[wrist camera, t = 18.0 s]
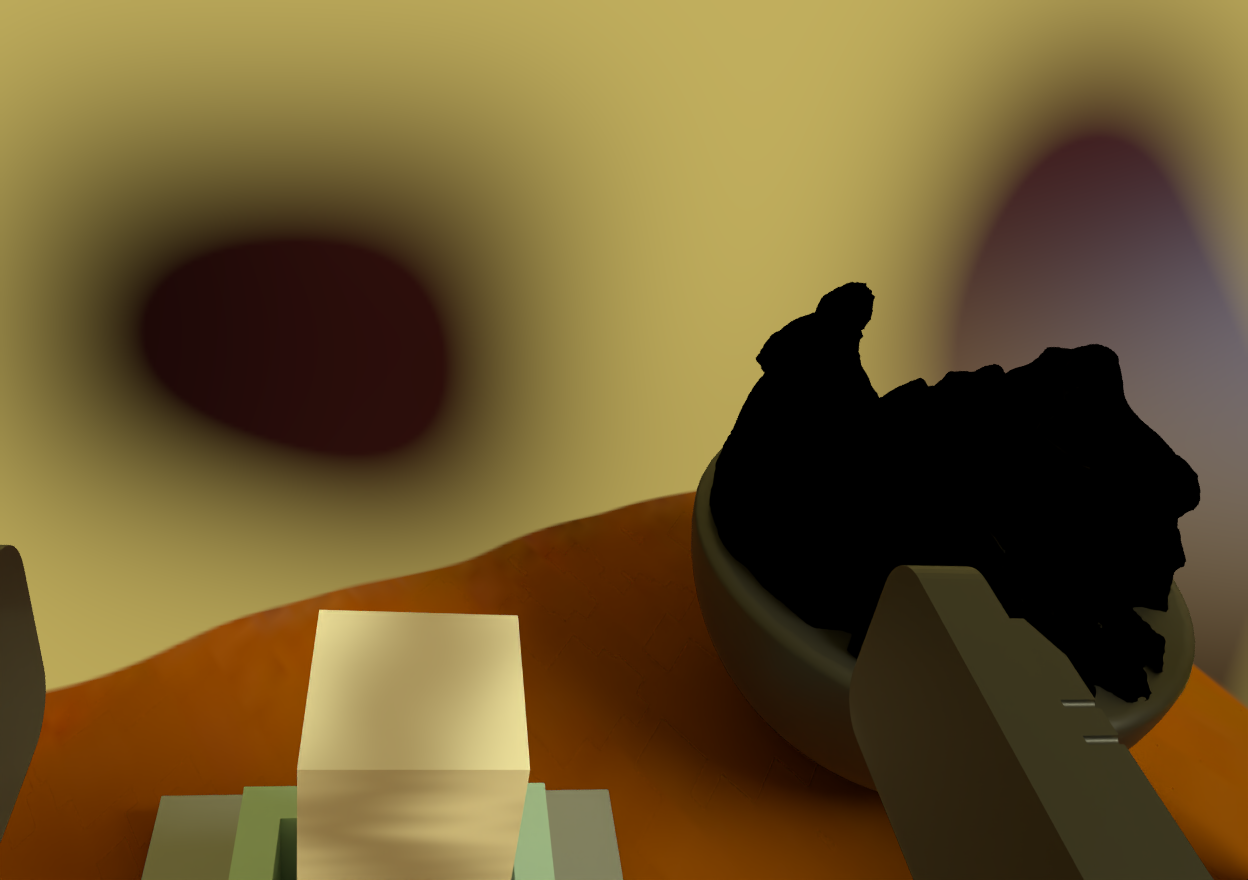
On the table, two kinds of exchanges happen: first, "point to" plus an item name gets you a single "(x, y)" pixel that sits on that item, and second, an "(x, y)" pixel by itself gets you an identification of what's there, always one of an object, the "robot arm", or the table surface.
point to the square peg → (412, 748)
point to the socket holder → (267, 836)
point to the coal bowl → (937, 523)
